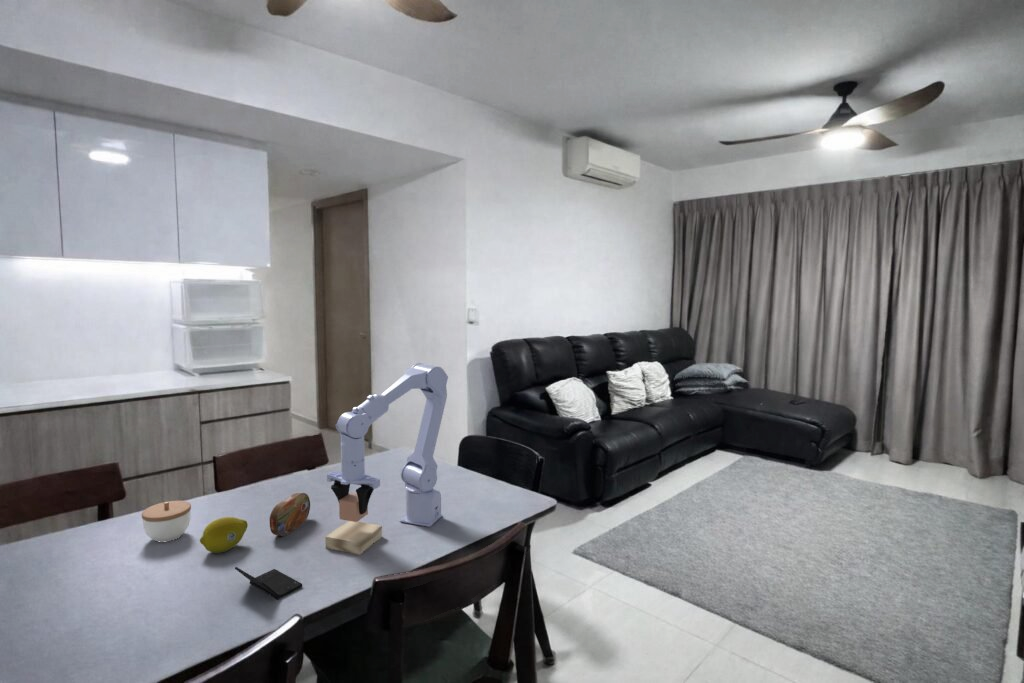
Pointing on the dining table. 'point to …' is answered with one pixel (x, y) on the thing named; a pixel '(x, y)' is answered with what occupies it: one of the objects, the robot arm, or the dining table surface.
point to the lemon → (223, 534)
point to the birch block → (353, 537)
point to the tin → (289, 514)
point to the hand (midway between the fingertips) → (353, 511)
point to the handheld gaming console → (273, 583)
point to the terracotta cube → (350, 508)
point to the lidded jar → (166, 520)
